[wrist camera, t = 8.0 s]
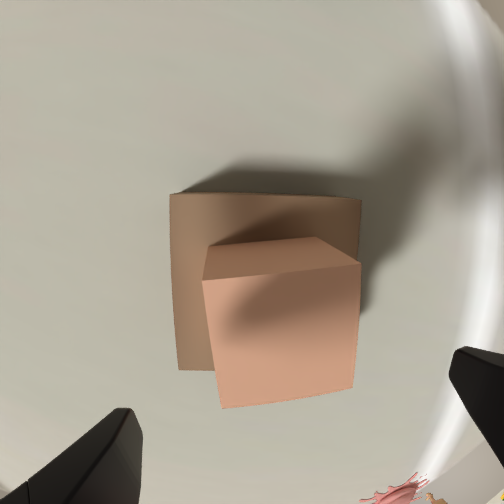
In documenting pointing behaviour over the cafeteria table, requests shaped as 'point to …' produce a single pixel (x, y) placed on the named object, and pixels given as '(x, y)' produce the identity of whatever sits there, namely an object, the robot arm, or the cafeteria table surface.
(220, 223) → the walnut block
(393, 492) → the ice cream
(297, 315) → the terracotta block
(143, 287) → the cafeteria table surface
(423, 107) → the cafeteria table surface
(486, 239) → the cafeteria table surface
